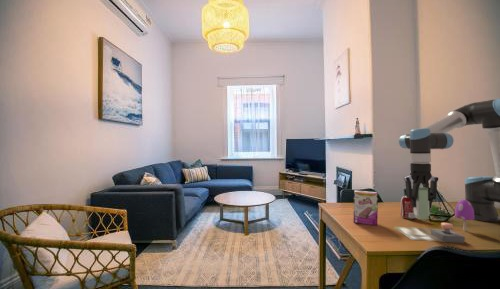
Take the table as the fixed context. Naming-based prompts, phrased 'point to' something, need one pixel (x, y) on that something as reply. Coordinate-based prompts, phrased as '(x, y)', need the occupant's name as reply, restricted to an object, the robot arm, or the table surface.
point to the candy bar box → (365, 207)
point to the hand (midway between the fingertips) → (421, 214)
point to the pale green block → (422, 203)
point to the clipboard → (418, 234)
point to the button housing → (447, 236)
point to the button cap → (447, 227)
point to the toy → (464, 212)
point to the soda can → (407, 208)
